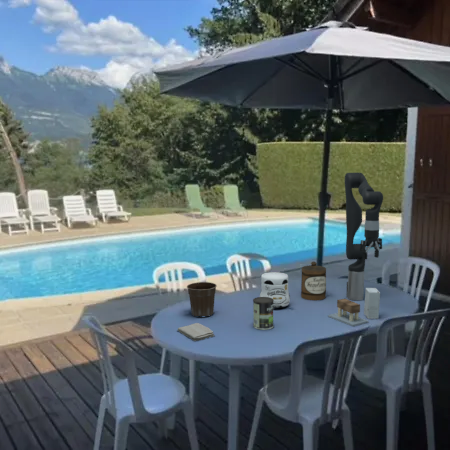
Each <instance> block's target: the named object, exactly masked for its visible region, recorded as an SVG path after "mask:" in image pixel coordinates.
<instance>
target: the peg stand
mask: <svg viewBox="0 0 450 450" xmlns="http://www.w3.org/2000/svg"><path fill="white" fill-rule="evenodd" d="M359 313H360V312H358V313H353V314H351V313H349V312H347V311H345V310H342V309H340V308H338V307H337V312H335V313H331V314H328V315H327V316H328V318H331V319H333V320H335V321H337V322H340V323H343V324H346V325H348V326H350V327H357V326H361V325H364V324H368V323H369V320H368V319H365V318H362V317H359V316H360V315H359Z"/></svg>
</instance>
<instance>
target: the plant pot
mask: <svg viewBox="0 0 450 450" xmlns="http://www.w3.org/2000/svg"><path fill="white" fill-rule="evenodd" d="M217 287H218V286H217V284H216V283H214V282H208V281H199V282H193V283H190V284H188V285H187V286H186V288H187V292H188V293H187V294H188V296H189V304H190V311H191V313H190V314H191V316H193V315H194V316H193V317H195V316H200V317H201V316H209V315H211V316H213V315H214V313H215V296H216V295H215V294H216V288H217ZM212 314H213V315H212ZM209 317H210V316H209Z"/></svg>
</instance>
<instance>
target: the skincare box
mask: <svg viewBox="0 0 450 450" xmlns="http://www.w3.org/2000/svg"><path fill="white" fill-rule="evenodd" d="M364 294H365V295H364V307H363V308H364V309H363V315H364V316H365V317H366V318H367V320H368V319H369V320H370V319H371V320H379V316H380V315H379V313H380V301H381V299H380V298H381V292H380V291H379V290H378V289H377V288H376V287H365V290H364Z"/></svg>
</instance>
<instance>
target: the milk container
mask: <svg viewBox="0 0 450 450" xmlns="http://www.w3.org/2000/svg"><path fill="white" fill-rule="evenodd" d="M260 278H261V279H260V284H261V285H260V287H261V289H260V294H259V297H269V298H272V299H273V300H274V301H273V309H281V308H282V309H283V308H285V307H287V306H289V304H290V303H291V302H290V301H291V295H290V292H289V284H290V283H289V275H288V274H287V273H283V272H278V271H277V272H275V271H273V272H265V273H262V274H261V277H260Z"/></svg>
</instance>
